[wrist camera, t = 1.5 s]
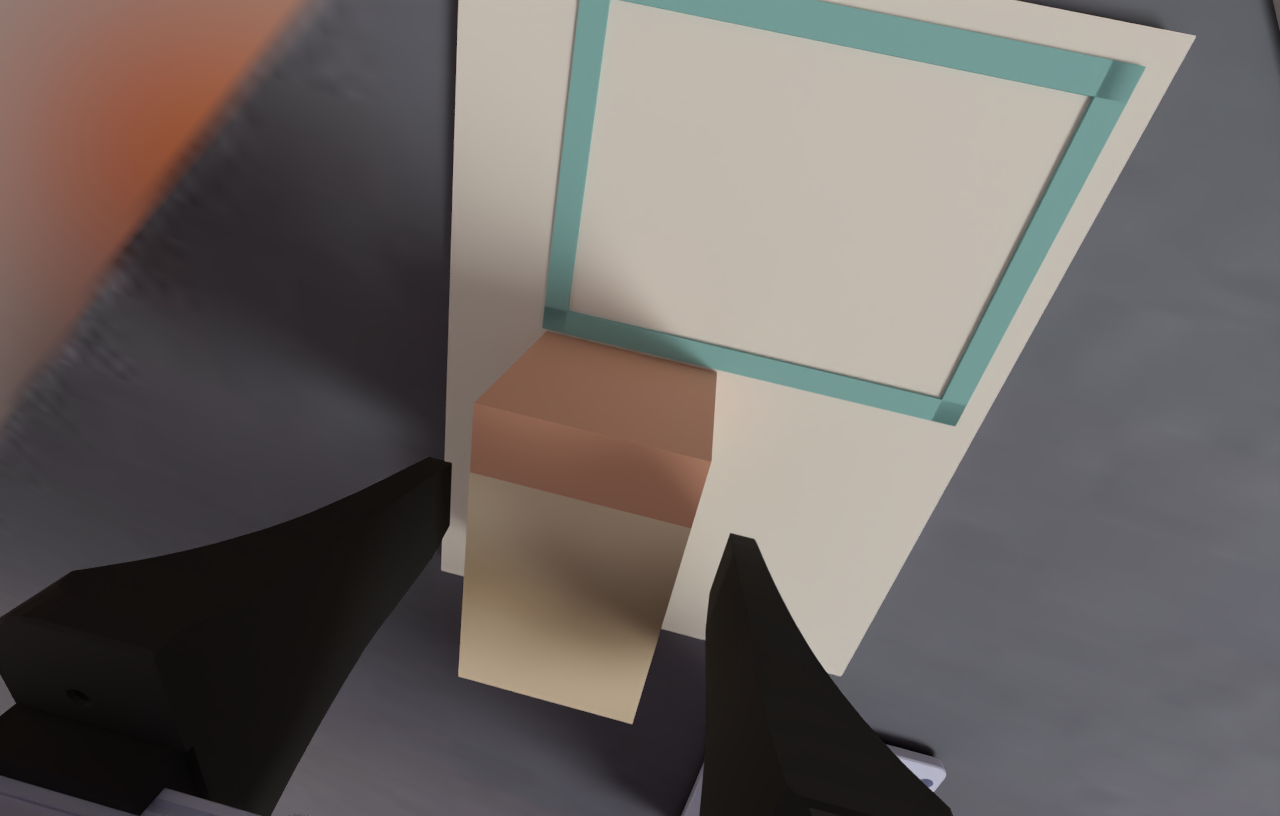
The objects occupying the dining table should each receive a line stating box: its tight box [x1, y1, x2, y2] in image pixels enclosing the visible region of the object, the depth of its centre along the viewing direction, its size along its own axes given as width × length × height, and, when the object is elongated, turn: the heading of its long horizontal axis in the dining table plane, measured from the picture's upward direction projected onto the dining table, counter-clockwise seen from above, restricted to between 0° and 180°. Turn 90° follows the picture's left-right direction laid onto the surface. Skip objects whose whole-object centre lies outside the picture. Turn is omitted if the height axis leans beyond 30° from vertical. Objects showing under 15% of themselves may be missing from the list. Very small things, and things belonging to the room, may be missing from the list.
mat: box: [441, 0, 1196, 676], centre depth 14 cm, size 18×14×1 cm
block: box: [458, 331, 717, 724], centre depth 14 cm, size 8×5×4 cm, turn 169°
